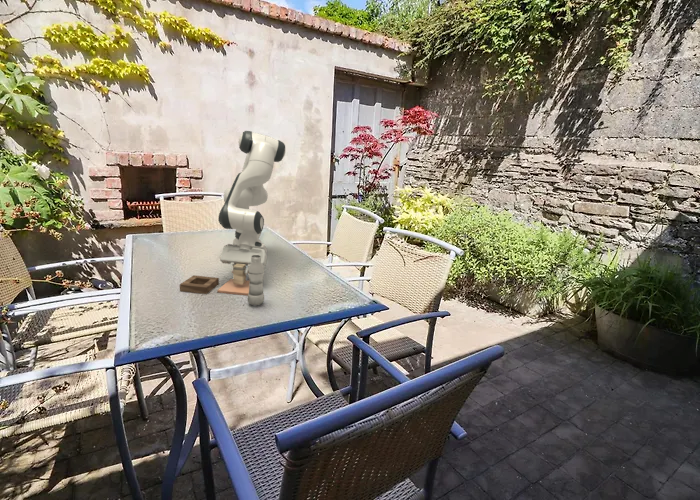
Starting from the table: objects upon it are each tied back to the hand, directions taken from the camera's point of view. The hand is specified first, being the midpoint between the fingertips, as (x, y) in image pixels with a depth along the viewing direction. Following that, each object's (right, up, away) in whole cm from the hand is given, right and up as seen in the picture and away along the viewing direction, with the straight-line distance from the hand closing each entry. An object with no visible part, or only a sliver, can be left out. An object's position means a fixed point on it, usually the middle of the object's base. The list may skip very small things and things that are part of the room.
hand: (239, 273), depth 152 cm
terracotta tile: (0, -7, +2) cm, 7 cm away
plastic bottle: (+10, -12, -12) cm, 19 cm away
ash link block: (0, -4, +2) cm, 4 cm away
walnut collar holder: (-17, -6, -1) cm, 18 cm away
